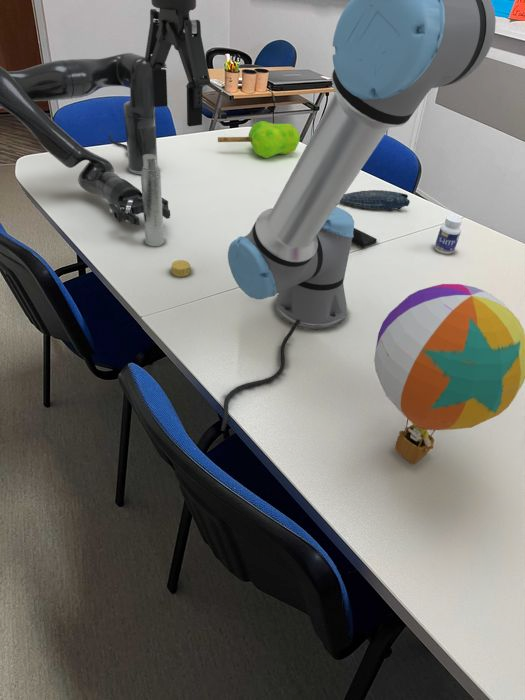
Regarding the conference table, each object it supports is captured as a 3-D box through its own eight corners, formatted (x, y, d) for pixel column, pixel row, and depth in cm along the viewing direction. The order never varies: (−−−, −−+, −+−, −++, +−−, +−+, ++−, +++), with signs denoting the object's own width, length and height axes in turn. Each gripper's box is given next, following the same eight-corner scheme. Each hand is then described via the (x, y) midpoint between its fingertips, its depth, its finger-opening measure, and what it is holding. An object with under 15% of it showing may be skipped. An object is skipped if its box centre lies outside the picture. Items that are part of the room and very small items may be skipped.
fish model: (408, 214, 157) (412, 198, 153) (339, 207, 158) (341, 191, 154) (406, 206, 162) (410, 190, 159) (339, 199, 163) (341, 183, 160)
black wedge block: (381, 233, 141) (372, 211, 133) (369, 255, 140) (359, 235, 132) (344, 225, 147) (334, 203, 139) (333, 246, 146) (321, 226, 138)
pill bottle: (433, 251, 139) (442, 220, 133) (435, 243, 143) (444, 213, 137) (453, 256, 138) (464, 225, 132) (454, 247, 142) (465, 217, 136)
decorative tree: (215, 117, 188) (295, 117, 193) (215, 147, 195) (292, 146, 200) (221, 131, 174) (307, 131, 180) (221, 163, 181) (304, 161, 186)
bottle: (156, 236, 134) (151, 151, 121) (167, 242, 132) (163, 156, 119) (141, 241, 132) (135, 155, 118) (153, 248, 129) (147, 160, 116)
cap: (168, 271, 121) (167, 263, 120) (182, 265, 124) (182, 258, 122) (179, 279, 119) (179, 271, 118) (194, 273, 121) (194, 265, 120)
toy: (323, 444, 83) (359, 283, 64) (398, 394, 94) (448, 243, 75) (425, 531, 72) (504, 368, 53) (497, 463, 83) (584, 307, 64)
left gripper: (95, 186, 132) (125, 210, 122) (145, 177, 139) (177, 198, 130) (99, 214, 137) (128, 239, 127) (147, 203, 144) (178, 226, 135)
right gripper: (233, -11, 81) (228, 131, 94) (159, -27, 96) (164, 97, 109) (190, -12, 77) (192, 136, 90) (120, -29, 92) (130, 100, 105)
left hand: (153, 218), depth 129 cm, fingers open, 8 cm apart
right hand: (176, 115), depth 100 cm, fingers open, 13 cm apart
